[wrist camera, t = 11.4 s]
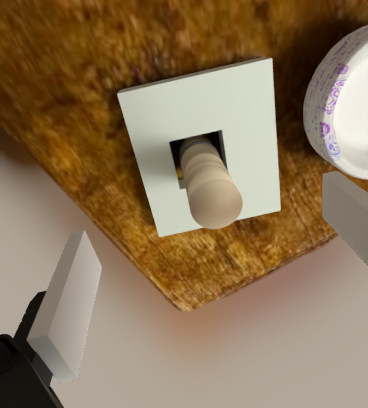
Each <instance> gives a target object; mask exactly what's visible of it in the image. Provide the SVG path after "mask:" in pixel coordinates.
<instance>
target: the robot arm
mask: <svg viewBox="0 0 368 408" xmlns="http://www.w3.org/2000/svg"><path fill="white" fill-rule="evenodd" d="M322 217H323V218H324V219H325V220H326V222H327V223H328V224H329V225H330V226H331V227H332V228H333V229H334V230H335V231H336V232H337V233H338V234H339V235H340V236H341V237H342V239H343V240H344V241H345V242H346V243H347V244H348V245H349V246H350V247H351V248H352V249H353V250H354V251H355V252H356V253H357V255H358V256H359V257H360V258H361V259H362V260H363V261H364V262H365V263H366V264H367V265H368V193H367V192H366V191H364V190H363V189H361V188H360V187H359V186H357V185H356V184H355V183H353V182H352V181H350V180H349V179H348V178H346V177H345V176H344V175H342V174H341V173H339V172H338V171H334V172H329V173H325V174H323V193H322ZM101 269H102V267H101V265H100V262H99V260H98V258H97V256H96V254H95V251H94V249H93V247H92V245H91V243H90V241H89V238H88V237H87V234H86V232H85V230H81V231H77V232H72V233H71V234H70V236H69V238H68V241H67V243H66V246H65V248H64V250H63V253H62V255H61V258H60V260H59V262H58V265H57V268H56V270H55V272H54V274H53V277H52V280H51V282H50V284H49V287H48V289H47V291H43V292H39V293H37V295H36V296H35V297H34V298H33V299H32V301H31V302H30V303H29V305H28V308H27V310H26V314H24V316H23V318H22V322H21V323H20V325H19V327H18V330H17V331H16V333H15V336H14V338H12V337H11V336H10V335H8V334H1V335H0V408H64V407H63V405H62V404H61V402H60V400H59V399H58V397H57V396H56V394H55V392H54V391H53V389H52V388H51V387H50V382H51V379H52V376H54V378H55V379H56V380H57V382H58V383H63V382H67V381H71V380H76V379H78V374H79V370H80V365H81V361H82V355H83V352H84V347H85V342H86V338H87V333H88V328H89V324H90V319H91V314H92V310H93V306H94V301H95V296H96V292H97V287H98V283H99V278H100V274H101Z"/></svg>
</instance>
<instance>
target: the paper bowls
mask: <svg viewBox="0 0 368 408" xmlns="http://www.w3.org/2000/svg"><path fill="white" fill-rule="evenodd" d="M303 122H304V128H305V132H306V134H307V137H308V140H309V142H310V144H311V145H312V147H313V149H315V151H316V152H317V153H318V154H319V155H320V156H321V157H322V158H324V159H325V160H327V161H328V162H329V163H331V164H332V165H333V166H335V167H337V168H338V169H340V170H341V171H343V172H344V173H346V174H348V175H350V176H353V177H356V178H361V179H368V25H367V26H364V27H361V28H359V29H357V30H356V31H354V32H352V33H350V34H348V35H347V36H345V37H344V38H343V39H342V40H340V41H339V42H338V43H337V44H336V45H335V46H334V47H333V48H332V49H331V50H330V51H329V52H328V54H327V55H326V56H325V58H324V59H323V60H322V62H321V63H320V64H319V66H318V67H317V69H316V71H315V73H314V75H313V76H312V80H311V82H310V83H309V86H308V89H307V93H306V95H305V100H304V106H303Z"/></svg>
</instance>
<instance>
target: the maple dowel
mask: <svg viewBox="0 0 368 408" xmlns="http://www.w3.org/2000/svg"><path fill="white" fill-rule="evenodd" d="M179 158H180V168H181V170H182V173H183V178H184V183H185V188H186V193H187V198H188V202H189V207H190V212H191V215H192V217H193V219H194V220H195V221H196V222H197V223H198V224H199V225H201V226H203V227H205V228H209V229H219V228H223V227H226V226H228V225H230V224H231V223H233V222H234V221H235V220H236V219H237V218H238V216H239V215H240V213H241V210H242V206H243V201H242V197H241V194H240V192H239V191H238V189H237V187H236V185H235V184H234V182H233V180H232V178H231V176H230V175H229V173H228V171H227V169H226V167H225V166H224V164H223V162H222V160H221V159H220V156H219V153H218V151H217V150H216V148H215V147H214V146H213V144H212V143H211V141H210V140H209V139H208V138H206V137H204V136H201V135H196V136H192V137H188V138H187V139H185V140H184V141H183V142H182V144H181V146H180V148H179Z"/></svg>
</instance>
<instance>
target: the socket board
mask: <svg viewBox="0 0 368 408" xmlns="http://www.w3.org/2000/svg"><path fill="white" fill-rule="evenodd" d="M117 96H118V99H119V103H120V106H121V109H122V113H123V116H124V119H125V123H126V126H127V130H128V133H129V136H130V140H131V143H132V146H133V150H134V153H135V157H136V160H137V163H138V167H139V170H140V174H141V177H142V180H143V184H144V187H145V190H146V194H147V197H148V201H149V204H150V207H151V211H152V214H153V217H154V221H155V224H156V228H157V231H158V234H159V237H163V236H167V235H172V234H176V233H181V232H185V231H190V230H194V229H199V228H203V226H201V225H199V224H198V223H197V222H196V221H195V220H194V219H193V217H192V215H191V212H190V207H189V202H188V198H187V193H186V188H185V183H184V179H179V180H178V177H177V173H176V168H175V164H174V160H173V155H172V151H171V147H170V143H169V142H170V141H174V140H179V139H183V138H188V137H192V136H196V135H201V134H205V133H210V132H214V131H218V134H219V140H220V147H221V154H222V160H223V164H224V166H225V167H226V169H227V171H228V173H229V175H230V176H231V178H232V180H233V182H234V184H235V185H236V187H237V189H238V191H239V192H240V194H241V197H242V201H243V206H242V210H241V213H240V215H239V216H238V218H237V219H236V220H240V219H244V218H249V217H253V216H258V215H262V214H267V213H271V212H276V211H280V210H281V206H280V188H279V171H278V153H277V135H276V117H275V100H274V82H273V64H272V58H267V57H260V58H256V59H252V60H247V61H243V62H239V63H234V64H230V65H226V66H221V67H217V68H213V69H208V70H204V71H200V72H195V73H191V74H187V75H182V76H178V77H174V78H169V79H165V80H161V81H156V82H152V83H148V84H143V85H139V86H134V87H130V88H126V89H121V90H119V92H118V93H117Z"/></svg>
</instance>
